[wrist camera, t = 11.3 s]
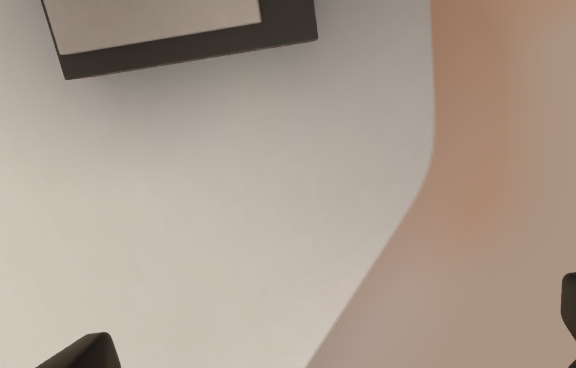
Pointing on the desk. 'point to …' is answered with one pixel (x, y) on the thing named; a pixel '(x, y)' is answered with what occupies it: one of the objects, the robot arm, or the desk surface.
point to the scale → (169, 31)
